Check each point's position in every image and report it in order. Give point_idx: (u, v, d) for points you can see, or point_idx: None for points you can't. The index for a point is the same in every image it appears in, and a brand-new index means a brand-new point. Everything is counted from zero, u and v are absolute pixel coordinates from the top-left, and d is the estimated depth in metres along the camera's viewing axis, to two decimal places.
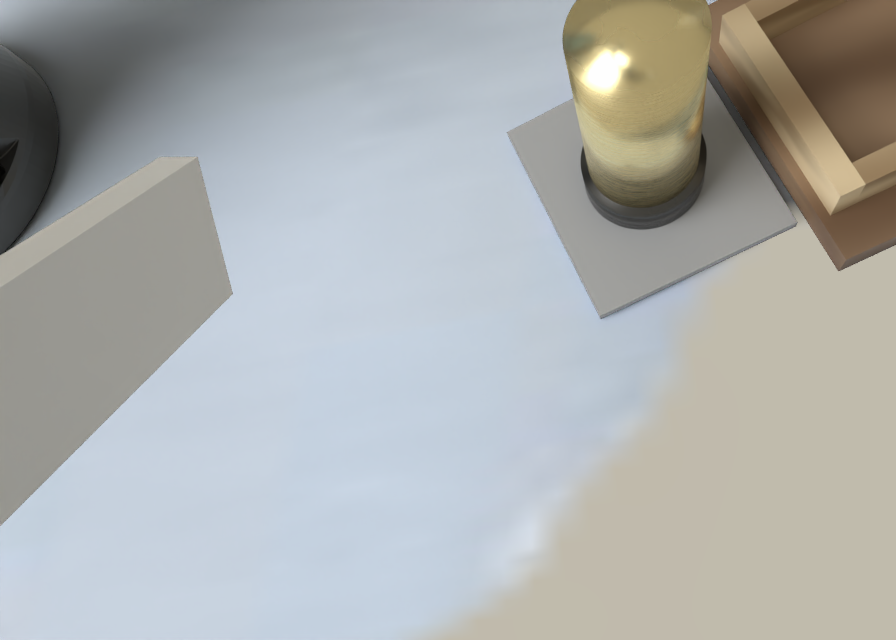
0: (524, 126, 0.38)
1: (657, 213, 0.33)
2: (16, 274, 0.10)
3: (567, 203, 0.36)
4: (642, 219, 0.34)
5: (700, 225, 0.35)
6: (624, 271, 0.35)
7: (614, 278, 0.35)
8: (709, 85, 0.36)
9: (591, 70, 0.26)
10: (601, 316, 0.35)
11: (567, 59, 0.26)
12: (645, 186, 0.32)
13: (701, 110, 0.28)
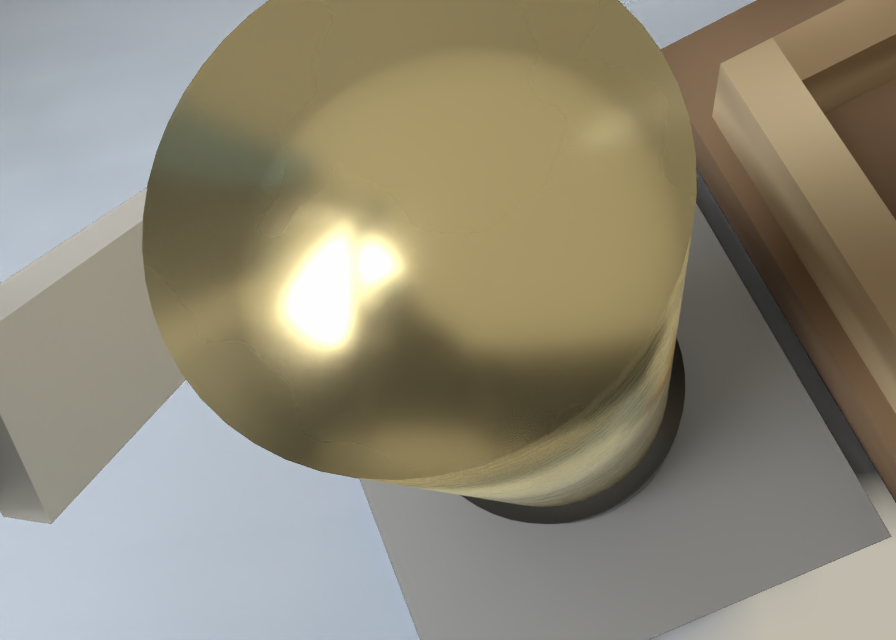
0: None
1: (571, 521, 0.14)
2: (84, 258, 0.11)
3: None
4: None
5: (672, 526, 0.16)
6: (506, 620, 0.16)
7: (485, 636, 0.16)
8: None
9: (226, 341, 0.07)
10: None
11: (150, 287, 0.07)
12: (529, 504, 0.13)
13: (666, 377, 0.09)
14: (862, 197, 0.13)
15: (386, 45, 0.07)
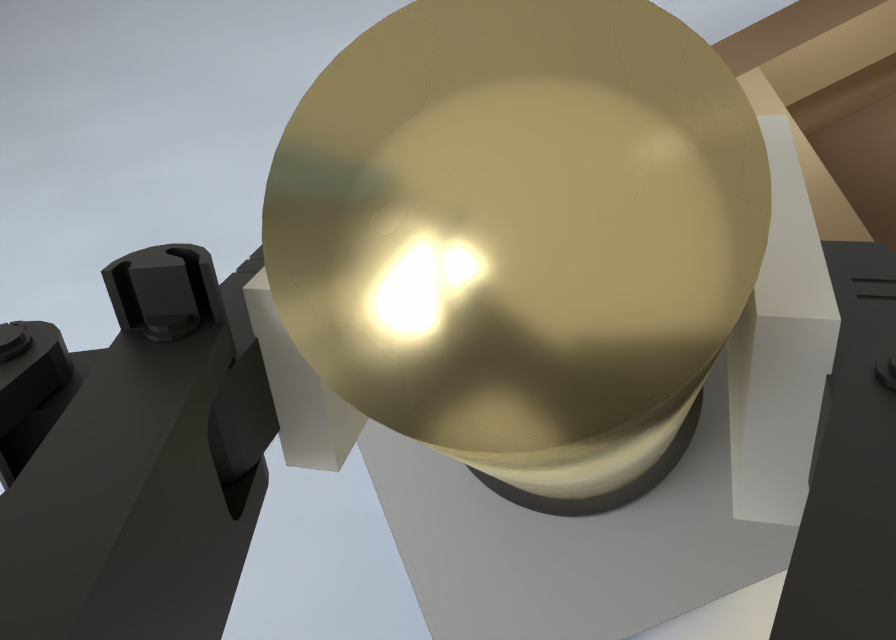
0: None
1: (591, 514, 0.15)
2: None
3: (405, 452, 0.18)
4: None
5: (666, 523, 0.17)
6: (511, 612, 0.17)
7: (490, 627, 0.17)
8: None
9: (341, 325, 0.07)
10: None
11: (270, 274, 0.08)
12: (559, 494, 0.13)
13: None
14: (841, 216, 0.14)
15: (490, 67, 0.08)
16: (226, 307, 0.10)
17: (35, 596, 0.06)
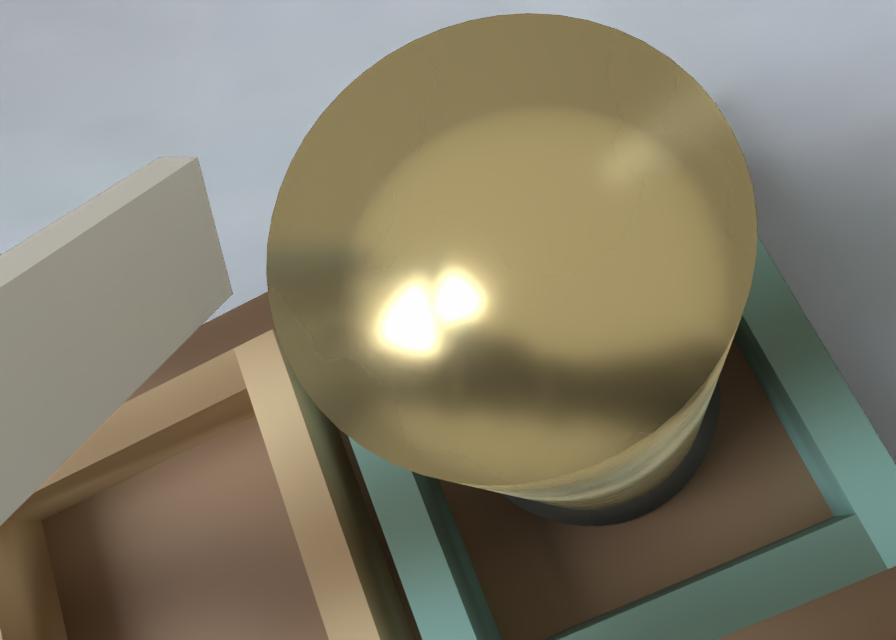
0: None
1: (606, 524, 0.15)
2: (16, 274, 0.10)
3: None
4: None
5: None
6: None
7: None
8: None
9: (339, 358, 0.08)
10: None
11: (273, 307, 0.08)
12: None
13: (709, 399, 0.10)
14: None
15: (486, 106, 0.08)
16: None
17: None
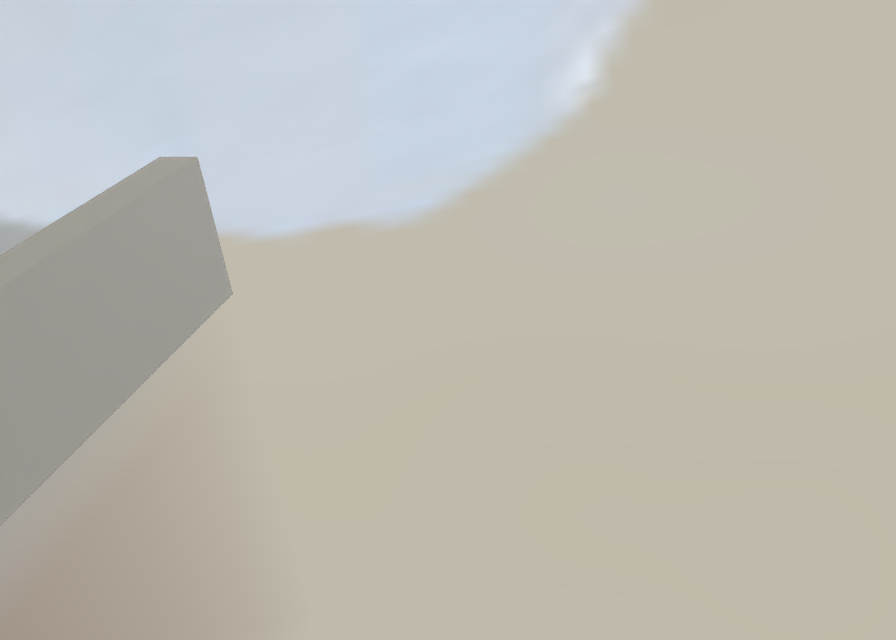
0: None
1: None
2: (16, 274, 0.10)
3: None
4: None
5: None
6: None
7: None
8: None
9: None
10: None
11: None
12: None
13: None
14: None
15: None
16: None
17: None
